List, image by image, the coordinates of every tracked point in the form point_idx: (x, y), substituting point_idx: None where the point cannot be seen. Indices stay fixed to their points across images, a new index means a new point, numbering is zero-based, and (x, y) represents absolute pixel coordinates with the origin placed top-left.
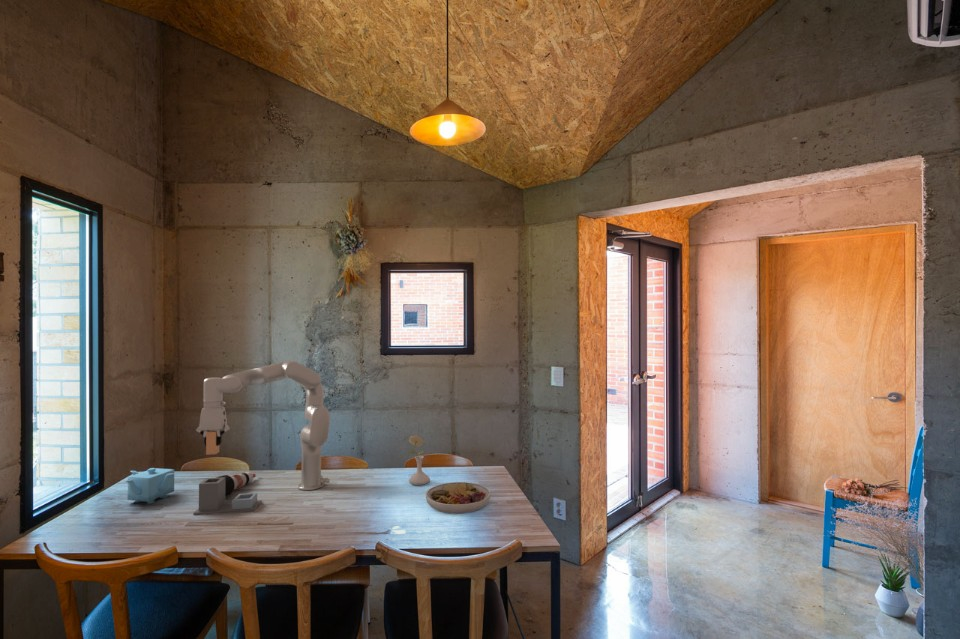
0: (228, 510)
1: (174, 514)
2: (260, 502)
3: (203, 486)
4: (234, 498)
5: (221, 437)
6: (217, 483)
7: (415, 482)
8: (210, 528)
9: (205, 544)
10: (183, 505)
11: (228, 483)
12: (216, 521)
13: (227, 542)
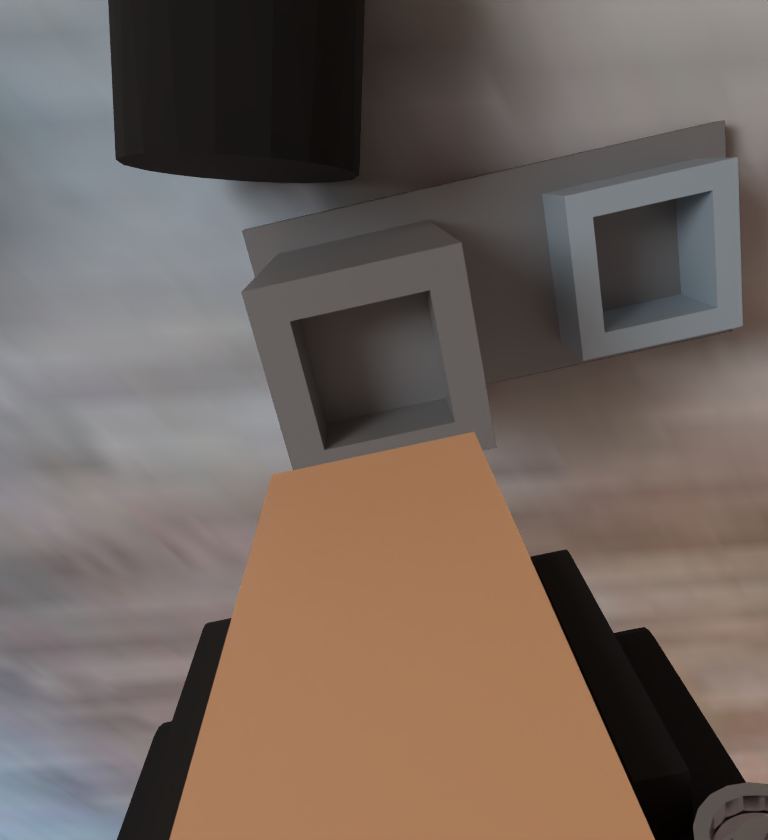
0: (542, 367)
1: (142, 415)
2: (721, 156)
3: None
4: (580, 319)
5: (725, 750)
6: (488, 448)
7: None
8: None
9: None
10: (52, 233)
11: (351, 6)
12: (534, 504)
13: (741, 726)
